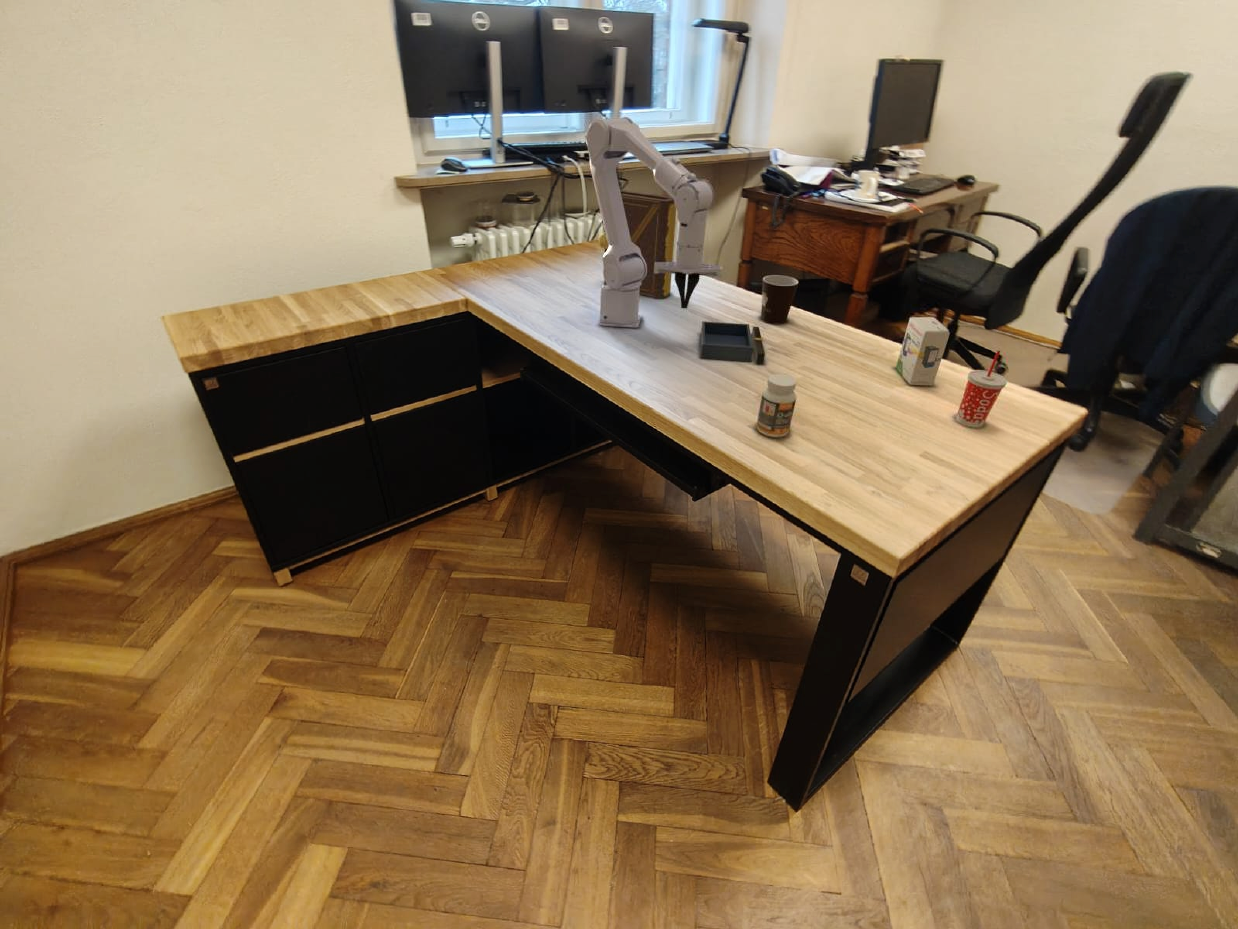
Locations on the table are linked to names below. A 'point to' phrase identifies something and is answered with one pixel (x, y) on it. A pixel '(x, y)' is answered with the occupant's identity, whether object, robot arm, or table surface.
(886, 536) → the table surface
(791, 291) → the coffee mug
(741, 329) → the tray
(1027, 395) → the table surface
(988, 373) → the beverage cup
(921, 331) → the ink box
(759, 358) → the stop rail
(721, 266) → the robot arm
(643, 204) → the book
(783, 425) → the pill bottle
